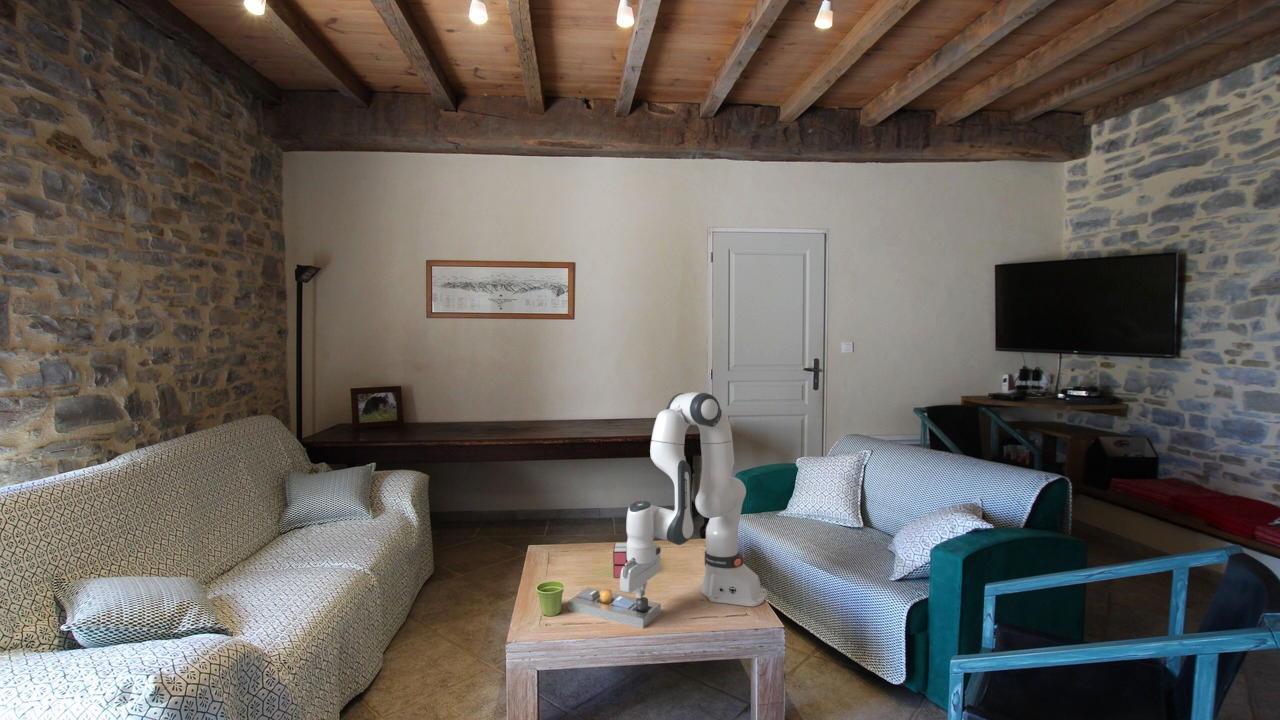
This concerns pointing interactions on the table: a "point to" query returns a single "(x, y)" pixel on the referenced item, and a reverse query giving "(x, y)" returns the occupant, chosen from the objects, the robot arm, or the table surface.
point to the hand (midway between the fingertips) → (640, 596)
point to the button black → (642, 604)
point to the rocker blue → (623, 603)
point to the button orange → (606, 596)
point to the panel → (614, 610)
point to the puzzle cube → (619, 558)
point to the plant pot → (550, 597)
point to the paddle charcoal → (589, 595)
